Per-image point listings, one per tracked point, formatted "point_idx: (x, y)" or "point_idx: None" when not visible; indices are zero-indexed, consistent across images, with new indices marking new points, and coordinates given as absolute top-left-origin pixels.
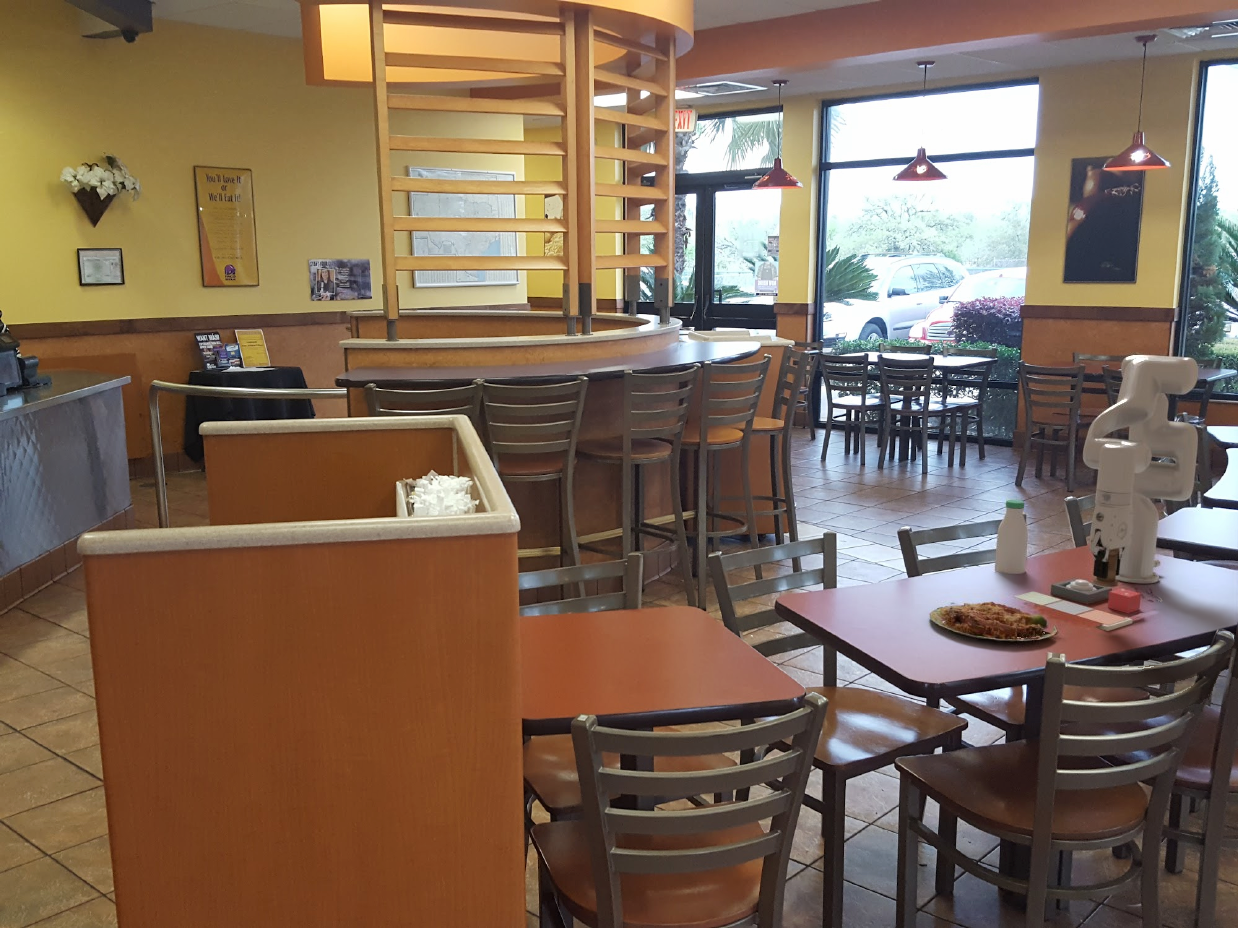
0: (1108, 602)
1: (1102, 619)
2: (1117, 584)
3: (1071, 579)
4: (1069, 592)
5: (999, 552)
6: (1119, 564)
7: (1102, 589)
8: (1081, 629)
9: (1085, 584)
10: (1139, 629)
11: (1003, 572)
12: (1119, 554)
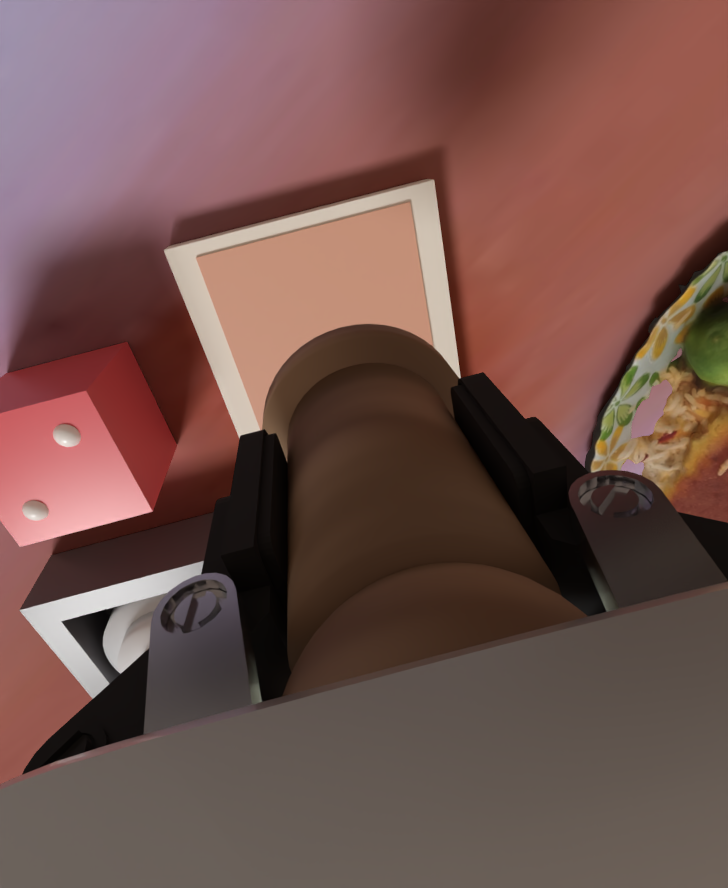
0: (166, 471)
1: (362, 299)
2: (308, 345)
3: None
4: None
5: None
6: (243, 500)
7: (94, 602)
8: (534, 257)
9: None
10: (205, 125)
11: None
12: (236, 618)
